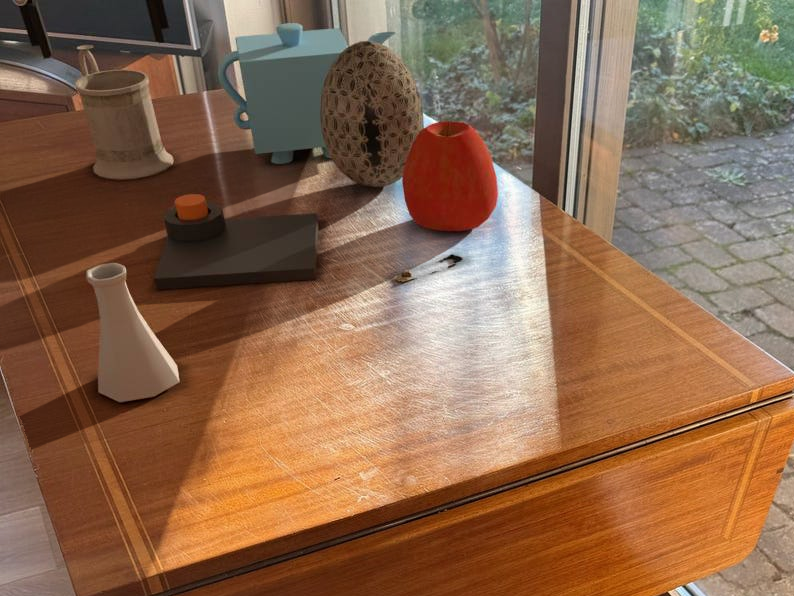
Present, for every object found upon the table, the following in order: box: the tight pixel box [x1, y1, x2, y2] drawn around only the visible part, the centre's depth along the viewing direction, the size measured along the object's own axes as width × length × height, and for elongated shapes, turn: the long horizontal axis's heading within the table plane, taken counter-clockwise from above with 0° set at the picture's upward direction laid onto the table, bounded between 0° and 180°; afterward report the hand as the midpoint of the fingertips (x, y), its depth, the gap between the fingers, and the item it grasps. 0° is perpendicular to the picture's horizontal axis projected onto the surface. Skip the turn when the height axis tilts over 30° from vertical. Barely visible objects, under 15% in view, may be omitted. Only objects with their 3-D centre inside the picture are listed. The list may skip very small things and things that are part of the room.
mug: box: [74, 44, 174, 181], centre depth 121 cm, size 14×10×12 cm
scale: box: [153, 201, 320, 291], centre depth 103 cm, size 16×15×3 cm
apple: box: [401, 120, 499, 232], centre depth 105 cm, size 10×10×10 cm
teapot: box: [217, 22, 396, 165], centre depth 122 cm, size 22×11×14 cm, turn 102°
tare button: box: [174, 193, 209, 220], centre depth 105 cm, size 3×3×2 cm
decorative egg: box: [320, 40, 425, 188], centre depth 112 cm, size 12×12×15 cm
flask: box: [86, 262, 180, 403], centre depth 83 cm, size 7×7×10 cm
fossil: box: [394, 253, 464, 282], centre depth 100 cm, size 8×2×1 cm, turn 129°
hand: (104, 46), depth 86 cm, fingers open, 9 cm apart
